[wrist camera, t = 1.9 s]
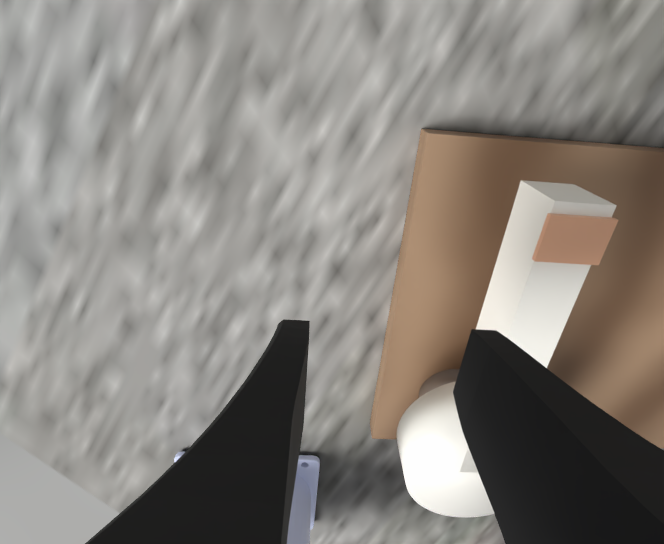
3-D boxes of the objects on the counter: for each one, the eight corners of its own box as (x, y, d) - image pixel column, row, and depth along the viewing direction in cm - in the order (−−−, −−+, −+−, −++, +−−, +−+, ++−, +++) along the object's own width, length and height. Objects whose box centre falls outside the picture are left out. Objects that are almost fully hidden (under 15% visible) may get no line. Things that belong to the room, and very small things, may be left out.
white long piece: (510, 475, 22) (532, 522, 20) (387, 471, 22) (395, 520, 20) (638, 189, 15) (697, 212, 12) (453, 175, 14) (478, 197, 12)
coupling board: (370, 422, 26) (376, 472, 23) (421, 128, 17) (443, 143, 14) (672, 433, 27) (718, 482, 24) (859, 163, 18) (967, 184, 15)
